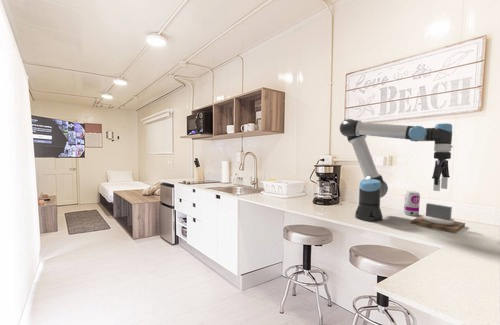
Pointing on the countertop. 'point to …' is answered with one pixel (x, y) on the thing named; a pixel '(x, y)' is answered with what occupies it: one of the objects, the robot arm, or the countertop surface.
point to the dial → (438, 214)
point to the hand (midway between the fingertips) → (440, 189)
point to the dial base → (439, 225)
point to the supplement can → (412, 203)
